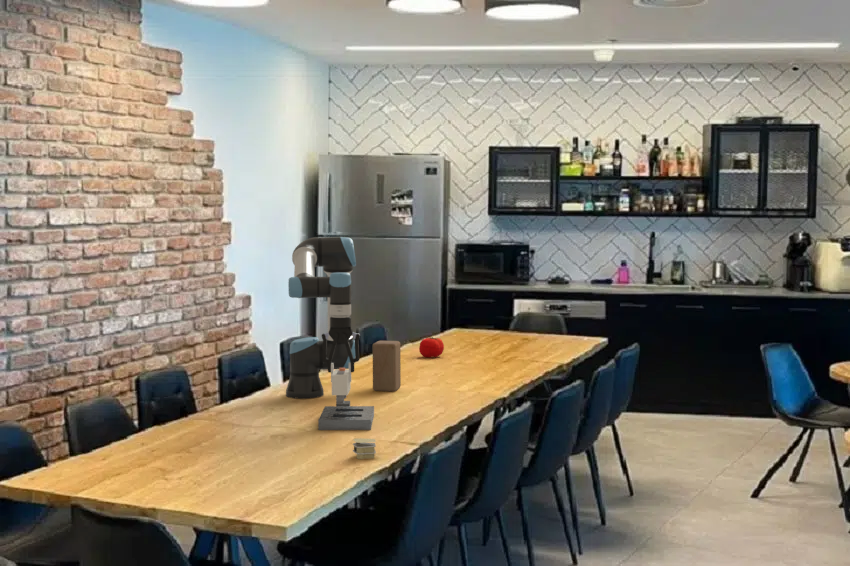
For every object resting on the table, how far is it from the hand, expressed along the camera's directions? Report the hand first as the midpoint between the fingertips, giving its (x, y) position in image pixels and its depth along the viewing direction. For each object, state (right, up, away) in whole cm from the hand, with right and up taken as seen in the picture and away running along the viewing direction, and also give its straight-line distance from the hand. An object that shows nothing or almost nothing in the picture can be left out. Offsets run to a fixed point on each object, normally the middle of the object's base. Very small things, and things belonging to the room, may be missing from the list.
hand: (341, 381), depth 369 cm
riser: (-1, -13, +22) cm, 26 cm away
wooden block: (+14, -10, +67) cm, 69 cm away
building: (+11, -19, -48) cm, 53 cm away
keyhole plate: (+2, -15, +1) cm, 15 cm away
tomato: (+33, -3, +156) cm, 160 cm away
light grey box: (0, -7, 0) cm, 7 cm away
